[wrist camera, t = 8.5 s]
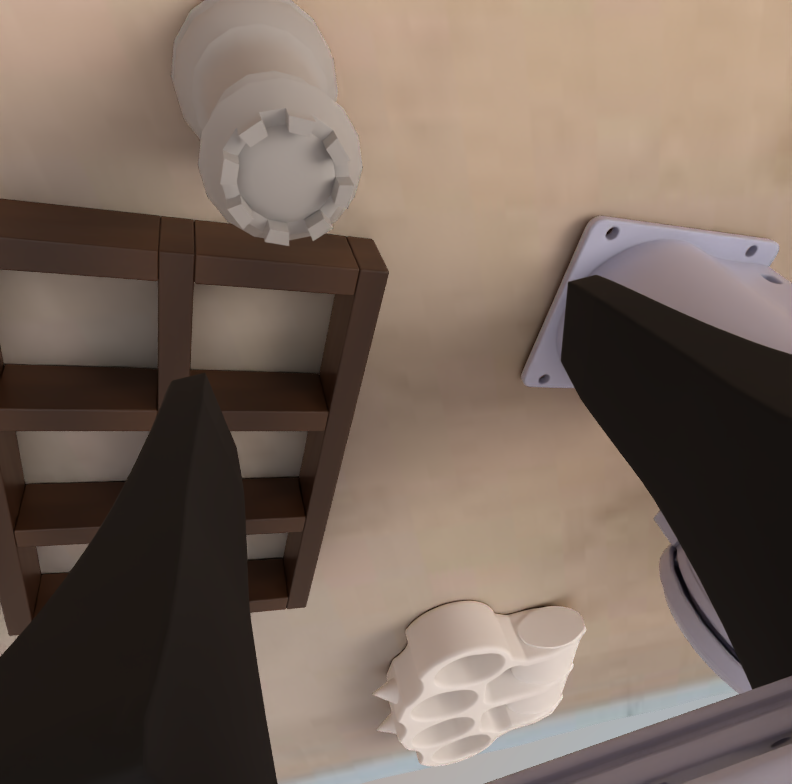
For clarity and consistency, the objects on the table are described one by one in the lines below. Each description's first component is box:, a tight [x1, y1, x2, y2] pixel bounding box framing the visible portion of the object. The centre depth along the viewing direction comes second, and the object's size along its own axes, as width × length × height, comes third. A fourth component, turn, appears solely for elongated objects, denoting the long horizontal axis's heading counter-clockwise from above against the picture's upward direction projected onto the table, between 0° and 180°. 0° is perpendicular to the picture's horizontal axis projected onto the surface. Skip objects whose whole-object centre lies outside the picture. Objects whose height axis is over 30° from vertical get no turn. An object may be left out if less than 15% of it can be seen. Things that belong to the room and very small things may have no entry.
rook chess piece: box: [171, 0, 363, 246], centre depth 15 cm, size 4×4×8 cm
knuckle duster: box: [372, 601, 586, 766], centre depth 44 cm, size 3×18×15 cm
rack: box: [0, 199, 389, 636], centre depth 25 cm, size 13×19×2 cm
